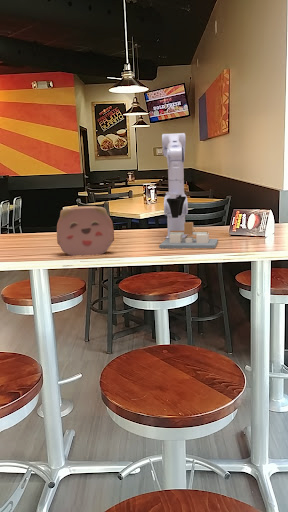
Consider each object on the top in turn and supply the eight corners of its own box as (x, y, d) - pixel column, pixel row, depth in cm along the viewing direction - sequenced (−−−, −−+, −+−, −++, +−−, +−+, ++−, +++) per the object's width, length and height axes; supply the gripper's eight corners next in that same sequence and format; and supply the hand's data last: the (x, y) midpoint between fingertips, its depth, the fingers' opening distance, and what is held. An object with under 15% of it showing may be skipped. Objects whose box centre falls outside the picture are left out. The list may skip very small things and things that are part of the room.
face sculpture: (57, 257, 152) (53, 208, 149) (59, 253, 159) (55, 207, 156) (115, 254, 153) (112, 206, 150) (114, 250, 160) (112, 204, 157)
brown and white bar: (171, 233, 167) (170, 222, 166) (208, 233, 164) (208, 222, 163) (169, 234, 164) (169, 223, 164) (207, 234, 161) (207, 223, 160)
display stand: (166, 241, 174) (166, 231, 173) (217, 241, 169) (217, 231, 168) (159, 248, 161) (159, 236, 160) (214, 248, 156) (214, 237, 155)
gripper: (169, 179, 172) (170, 214, 175) (161, 181, 158) (162, 218, 161) (187, 179, 170) (187, 214, 173) (181, 180, 157) (181, 218, 159)
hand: (176, 216), depth 167 cm, fingers open, 7 cm apart
